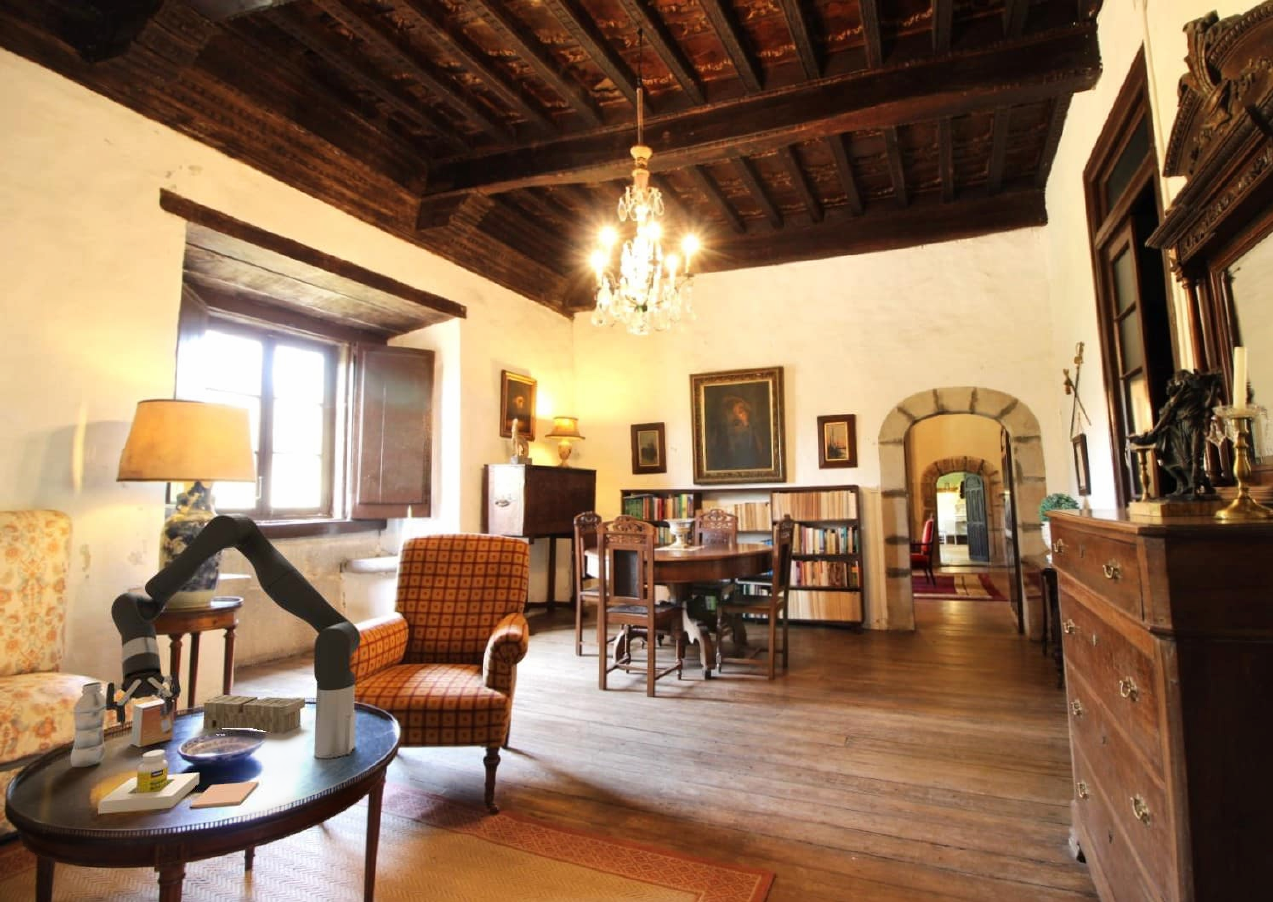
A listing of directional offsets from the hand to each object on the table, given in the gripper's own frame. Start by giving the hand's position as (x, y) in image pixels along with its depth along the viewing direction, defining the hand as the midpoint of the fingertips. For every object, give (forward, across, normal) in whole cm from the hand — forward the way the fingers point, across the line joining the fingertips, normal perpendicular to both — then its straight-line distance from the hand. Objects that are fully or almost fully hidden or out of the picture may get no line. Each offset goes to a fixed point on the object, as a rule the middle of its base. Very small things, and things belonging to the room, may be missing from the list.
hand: (146, 717), depth 151 cm
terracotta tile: (+26, +12, -5) cm, 29 cm away
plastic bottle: (-5, -8, +26) cm, 28 cm away
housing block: (+18, 0, +2) cm, 19 cm away
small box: (-11, +6, +32) cm, 35 cm away
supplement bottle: (+19, 0, +3) cm, 19 cm away
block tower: (-6, +29, +28) cm, 41 cm away
